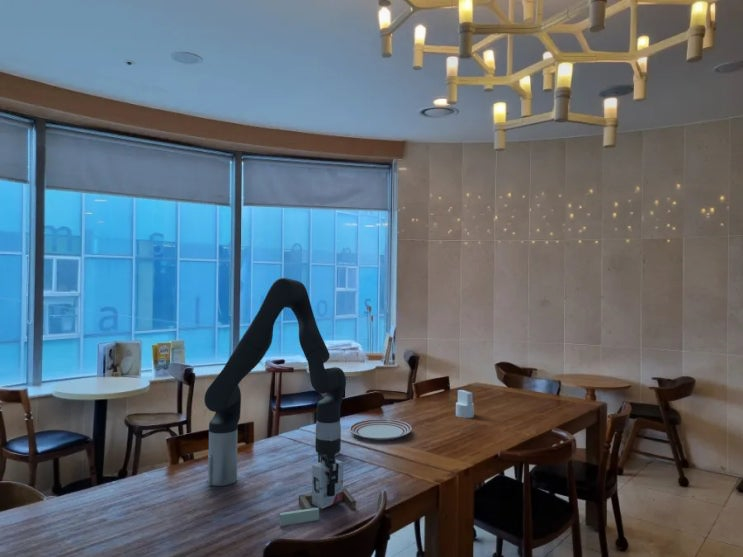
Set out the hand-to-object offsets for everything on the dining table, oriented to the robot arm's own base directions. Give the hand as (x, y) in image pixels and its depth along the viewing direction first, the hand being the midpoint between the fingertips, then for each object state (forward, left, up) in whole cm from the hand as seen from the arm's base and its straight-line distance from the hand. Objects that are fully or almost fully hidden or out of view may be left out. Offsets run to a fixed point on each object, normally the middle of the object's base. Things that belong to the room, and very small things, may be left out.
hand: (327, 491), depth 154 cm
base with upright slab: (+95, +78, -5) cm, 123 cm away
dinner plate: (+43, +63, -5) cm, 76 cm away
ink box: (0, 0, -4) cm, 4 cm away
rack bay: (0, +2, -5) cm, 5 cm away
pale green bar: (-10, -6, -5) cm, 13 cm away
